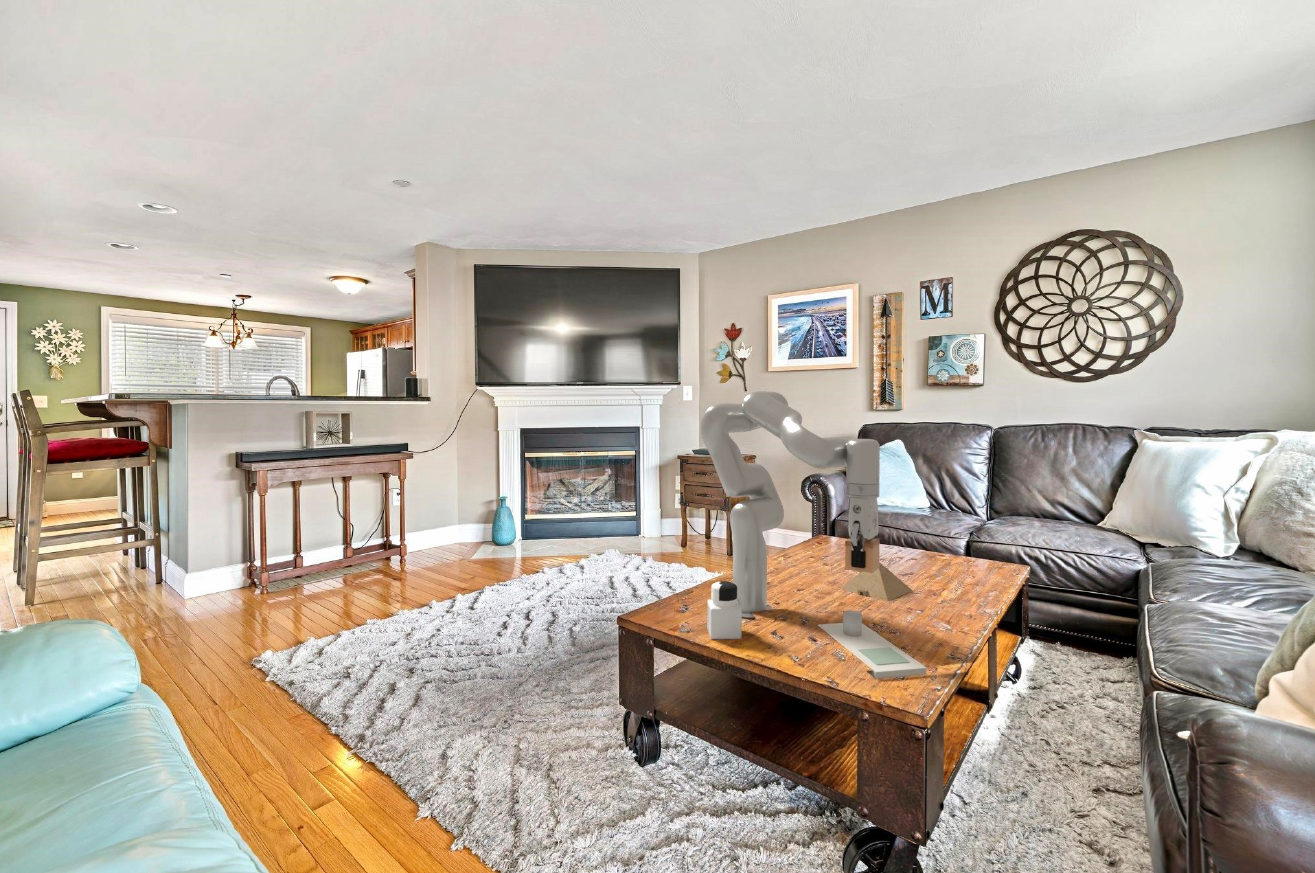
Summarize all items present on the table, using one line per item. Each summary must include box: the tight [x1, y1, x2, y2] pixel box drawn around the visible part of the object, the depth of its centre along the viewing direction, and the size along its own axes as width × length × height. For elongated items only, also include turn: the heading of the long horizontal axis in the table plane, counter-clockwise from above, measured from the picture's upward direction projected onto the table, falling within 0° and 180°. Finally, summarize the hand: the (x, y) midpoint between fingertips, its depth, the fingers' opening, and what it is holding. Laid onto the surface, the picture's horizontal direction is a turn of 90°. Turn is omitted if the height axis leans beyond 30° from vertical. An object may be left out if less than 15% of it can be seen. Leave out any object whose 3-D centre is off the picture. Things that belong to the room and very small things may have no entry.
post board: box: [817, 609, 928, 680], centre depth 141 cm, size 12×28×6 cm, turn 10°
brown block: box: [844, 536, 880, 573], centre depth 144 cm, size 6×6×7 cm
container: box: [706, 580, 743, 640], centre depth 151 cm, size 8×8×13 cm
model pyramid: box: [839, 561, 913, 602], centre depth 188 cm, size 17×17×10 cm
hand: (862, 563), depth 144 cm, fingers closed on brown block, 6 cm apart
